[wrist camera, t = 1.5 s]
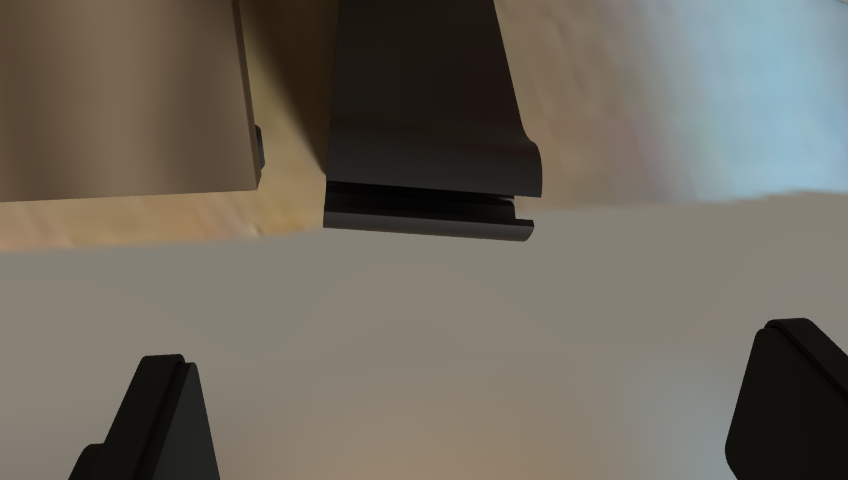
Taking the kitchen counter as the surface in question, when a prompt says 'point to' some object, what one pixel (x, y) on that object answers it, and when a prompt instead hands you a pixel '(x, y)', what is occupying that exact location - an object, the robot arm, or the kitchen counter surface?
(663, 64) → the kitchen counter surface
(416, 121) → the phone stand
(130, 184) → the trolley
